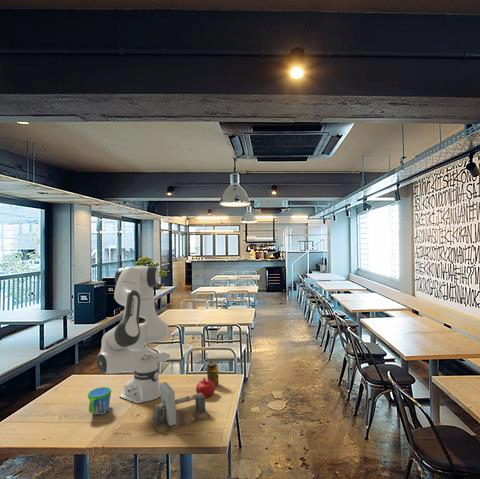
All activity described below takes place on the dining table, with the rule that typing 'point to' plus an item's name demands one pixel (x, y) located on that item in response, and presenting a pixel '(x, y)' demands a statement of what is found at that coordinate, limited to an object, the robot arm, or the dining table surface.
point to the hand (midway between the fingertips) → (162, 356)
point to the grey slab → (168, 403)
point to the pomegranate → (205, 387)
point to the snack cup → (99, 400)
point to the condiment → (213, 374)
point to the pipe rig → (181, 413)
